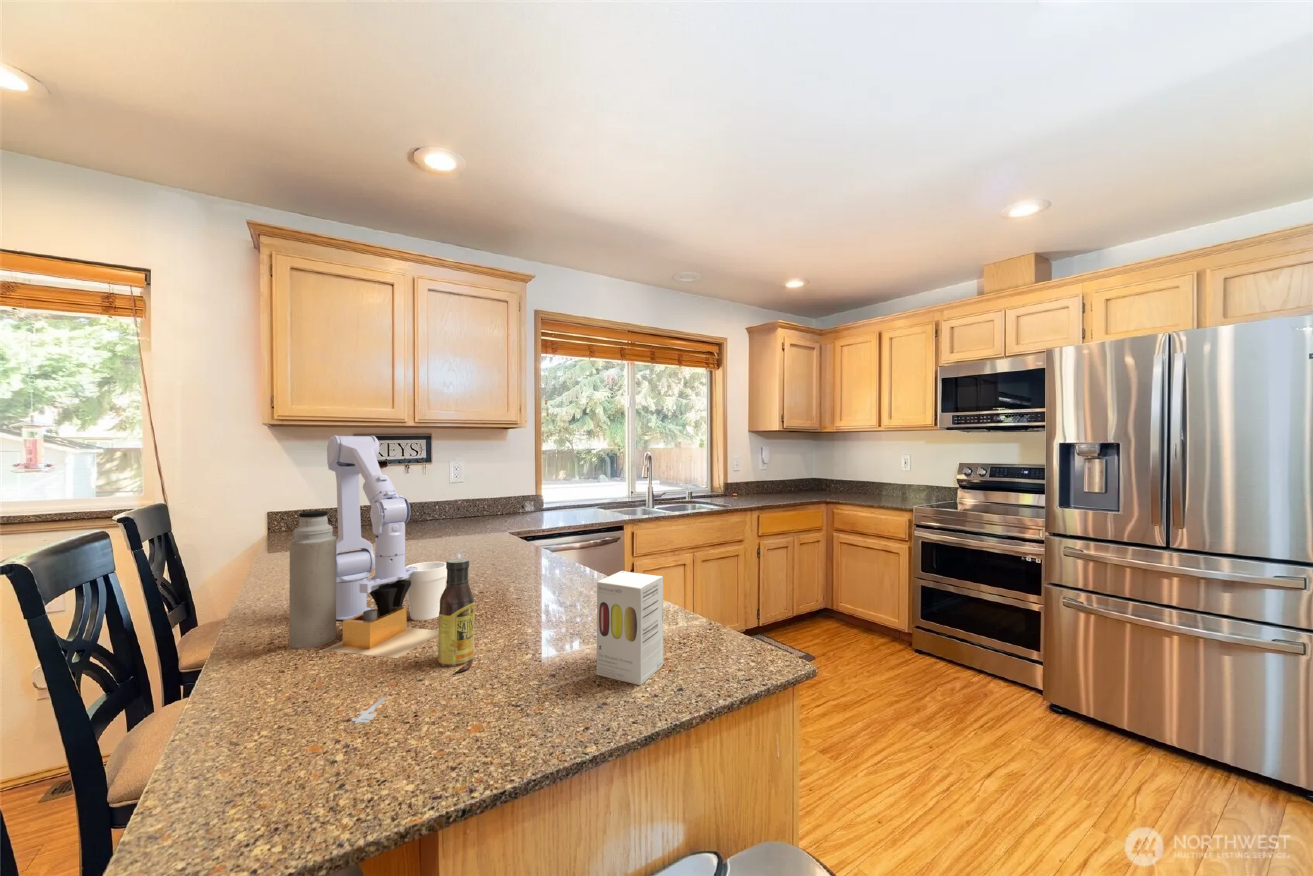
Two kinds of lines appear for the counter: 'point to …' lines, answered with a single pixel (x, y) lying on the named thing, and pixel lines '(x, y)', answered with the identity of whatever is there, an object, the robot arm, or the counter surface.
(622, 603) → the supplement box
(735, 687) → the counter surface
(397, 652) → the board
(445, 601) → the sauce bottle
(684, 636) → the counter surface
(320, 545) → the thermos bottle
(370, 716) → the key
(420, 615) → the foam cup
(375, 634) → the orange wooden hollow box
